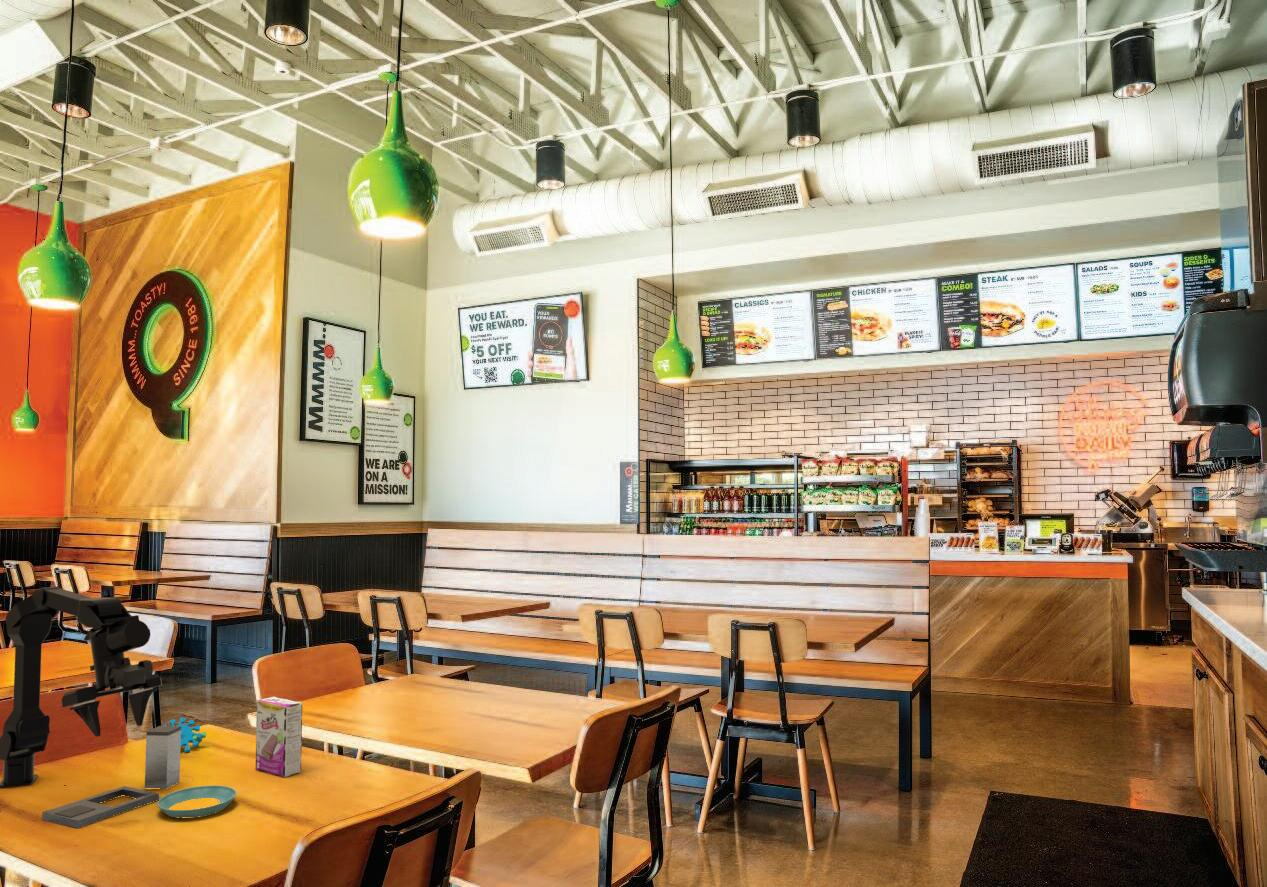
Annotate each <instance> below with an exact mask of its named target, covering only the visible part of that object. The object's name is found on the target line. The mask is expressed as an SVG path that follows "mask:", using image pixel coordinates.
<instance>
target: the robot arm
mask: <svg viewBox="0 0 1267 887" xmlns="http://www.w3.org/2000/svg"><path fill="white" fill-rule="evenodd" d="M60 612H62V613H65V614H69V615H71V616H74V617H76V621H77V622H78V623H79V624H81V625H83V627H86V628H89V631H88V632H87V634H86V635H84V638H83V640H84V641H85V642H89V641H90V649H91V654H92V662H93V664H92V665H90V666H89V670H90V672H93V671H94V674H95V682H96V683H95V684H94V685H92V686H88V687H83V688H79V689H74V690H72V691H68V692H67V691H66V692H65V693H64V694H63V695H62V698H61V705H62V706H61V707H62V709H63V708H67V707H69V708H68V709H69V711H74V712H75V713H76V714H77V716H78V717H79V718H80V719H81V720H82V721H83V722H84V723H85V725H86V726H87V728H89V730H90V731H91V733H92V734H93V735H94V737H101V733H102V732H101V725H100V724H101V723H100V717H99V711H98V710H99V706H100V703H101V700H100V699H99V700H96V699H97V698H101V697H106V696H110V695H111V696H112V695H115V694H120V693H125V692H130V693H132V694H128V700H129V704H130V707H131V711H132V715H133V719H134V721H135V724H136V727H141V726H143V724H144V718H145V713H146V708H147V704H148V701H149V698H150V697H151V696H152V695H153V693H154V692H157V690H158V687H161V686H162V685H163V683H162V677H161V676H160V675H159V674H158V673H154V672H153V671H154V666H153V663H152V660H150V659H146V660H145V659H144V660H140V661H138V664H137V663H136V664H132V663H131V659H130V657H125V653H126V652H129V651H133V650H136V649H140V648H142V647H144V646H146V645H147V644H148V642H149V641H150V638H151V629H150V628H149V626H148V625H147V624H146V623H145V622H143V621H142V620H140V616H139V615H131V613H130V612H129V611H128V610H127V608H126V607H125V606H124V605H123V603H122V601H121V600H120V599H119V598H118V597H90V596H88V595H87V596H86V595H83V594H80V593H77V592H74V591H70V590H66V589H64V588H63V587H60V586H49V587H47V586H46V587H40V588H38V589H36V590H34V591H33V593H32V594H31V595H29V596H28V597H26V598H24V599H22V600H20V601H19V602H17V603H15V604H14V605H13V607H12V608H10V610H9V611H8V612H7V613H6V615H5V624H6V633H7V636H8V637H9V639H10V640H11V641H12V642H13V643H14V649H15V650H14V673H13V674H14V675H13V676H14V678H13V681H14V682H13V704H12V707H13V708H12V711H11V713H10V714H9V716H8V717H7V719H6V720H5V722H4V724H3V730H2V735H1V736H0V760H1V761H3V765H2V766H3V768H2V769H3V770H2V780H1V781H0V789H1V788H9V787H10V786H11V787H18V786H20V787H21V786H28V785H32V784H34V782H35V781H36V780H37V778H38V777H39V774H38V773H34V772H35V771H34V770H35V753H40V752H44V751H46V747H47V742H48V739H49V735H50V733H51V730H50V722H51V718H50V716H49V715H48V714H45V713H44V712H43V710H42V709H41V707H40V705H41V704H40V703H41V701H40V700H41V676H42V671H41V670H42V646H43V642H45V639H46V638H47V637H48V636H49V634H50V632H51V630H52V629H51V628H52V622H53V620H54V619H55V618H56V617H57V616H58V615H59V614H60ZM11 787H10V788H11Z"/></svg>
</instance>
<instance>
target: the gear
mask: <svg viewBox="0 0 1267 887" xmlns="http://www.w3.org/2000/svg"><path fill="white" fill-rule="evenodd" d="M176 722H177V720H176V719H174V718H173V719H170V720H169V726H175V724H176ZM184 723H185V724H184ZM194 725H195V720H193V719H192V718H191V719H189V721H188V722H187V723H186V717H180V719H179V723H178V724H177V725H176V726H181V748H180V750H181V749H182V747H184V746H185V747H184V750H183V751H184V753H189V752H191V747H190V746H189V743H190V744H191V743H192V747H193V748H195V747H199V746H200V743H201V742H202V741H203V739H206V738H207V732H206V731H202V733H201V732H200V730H201V726H200V725H198V724H197V725H195V726H194ZM162 726H168V725H167V723H166V724H163V725H162ZM191 726H193V727H191ZM193 731H195V732H193Z"/></svg>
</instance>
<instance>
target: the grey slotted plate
mask: <svg viewBox="0 0 1267 887" xmlns="http://www.w3.org/2000/svg"><path fill="white" fill-rule="evenodd" d="M121 795H125V796H129V797H134V798H136V799H133V798H132V799H130V800H127V801H124V802H122V803H118V804H115V805H107V804H103V803H105V802H104V801H106V802H108V801H107V800H109V801H111V800H110V799H112V800H114V799H113V798H115V797H118V796H121ZM129 797H128V798H129ZM115 799H116V798H115ZM159 799H160V793H159V792H155V791H150V790H147V789H141V788H135V787H131V786H126V785H125V786H124V785H123V786H121V787H117V788H115V789H110V790H108V791H105V792H102V793H99V794H95V795H92V796H90V797H86V798H83V799H80V800H76V801H72V802H71V803H67V804H64V805H60V806H58V807H53V808H51V809H48V810H45V811H42V814H41V816H42V818H41V819H42V821H45V822H46V821H47V822H51V823H53V824H58V825H61V824H62V825H61V826H65V825H66V827H69V826H71V827H70V828H73V827H75V828H74V829H77V828H78V829H80V828H79V827H81V828H83V827H82V826H84V827H86V826H85V825H87V826H89V825H92V824H94V823H93V822H95V823H97V822H96V821H98V822H100V821H99V820H101V821H103V820H102V819H104V820H106V819H105V818H107V819H109V818H108V817H110V816H113V815H116V814H118V815H120V814H119V813H121V814H123V813H122V812H124V811H127V810H130V809H133V808H135V807H138V806H141V805H144V804H147V803H150V802H153V801H156V800H159ZM100 802H103V803H100ZM156 802H157V801H156ZM99 803H100V804H99ZM153 803H154V802H153ZM150 804H151V803H150ZM147 805H148V804H147ZM144 806H145V805H144ZM133 810H134V809H133ZM130 811H131V810H130ZM127 812H128V811H127ZM124 813H125V812H124ZM116 816H117V815H116ZM113 817H114V816H113ZM110 818H111V817H110ZM91 823H92V824H91ZM88 824H89V825H88Z"/></svg>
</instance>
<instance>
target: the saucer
mask: <svg viewBox="0 0 1267 887" xmlns="http://www.w3.org/2000/svg"><path fill="white" fill-rule="evenodd" d="M237 792H238V791H236V789H235V788H233V787H230V786H225V785H201V786H200V785H199V786H193V787H188V788H183V789H179V790H175V791H173V792H170V793H167V794H166V795H164V796H162V797H161V798H159V801H156V802H157V804H156V805H157V807H158V808H159V809H160V811H162V813H164V814H166V815H167V816H168V817H170V816H171V817H170V818H173V817H179V818H182V817H198V816H204V817H206V816H205V815H208V816H210V815H209V814H212V815H214V814H213V813H215V812H217V813H219V812H218V811H220V812H221V810H222V811H223V810H224V809H226V808H227V807H228V806H229V805H230V804H231V803H232V802H233V800H234V799H235V797H236V796H237ZM199 798H200V799H201V798H215V799H218V800H219V801H220V804H217V805H214V806H210V807H206V808H200V809H193V810H169V808H170V807H171V806H173V805H175V804H177V803H181V802H183V801H187V800H191V799H199ZM217 802H218V801H217ZM222 802H223V803H222ZM218 803H219V802H218ZM215 814H216V813H215ZM179 818H178V819H179ZM198 818H199V817H198Z"/></svg>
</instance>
